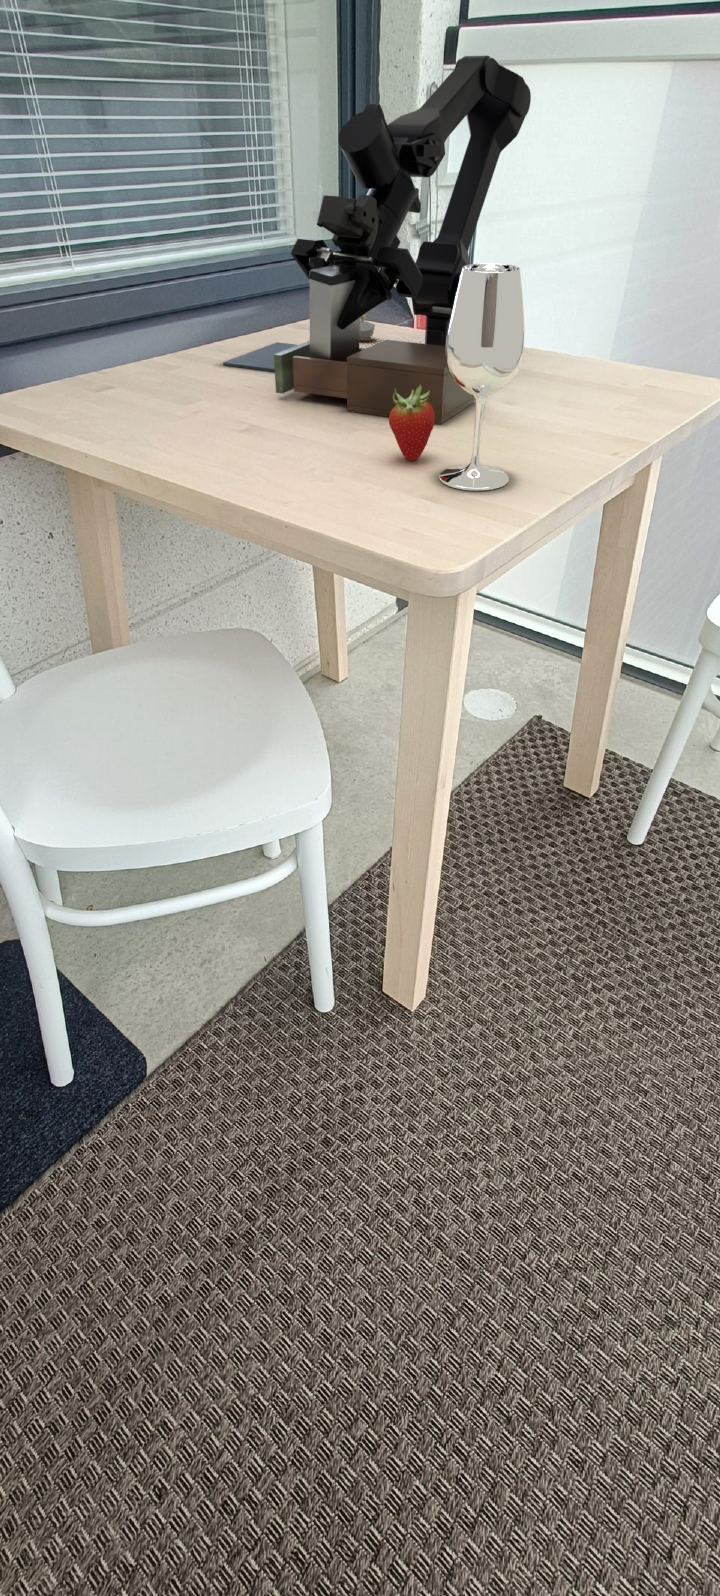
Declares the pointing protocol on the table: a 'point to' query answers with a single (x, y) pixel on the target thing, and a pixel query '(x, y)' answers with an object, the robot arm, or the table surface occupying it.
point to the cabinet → (403, 379)
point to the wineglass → (484, 353)
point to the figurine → (366, 329)
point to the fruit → (412, 423)
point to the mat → (259, 357)
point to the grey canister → (331, 313)
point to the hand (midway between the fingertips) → (327, 325)
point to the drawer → (309, 373)
